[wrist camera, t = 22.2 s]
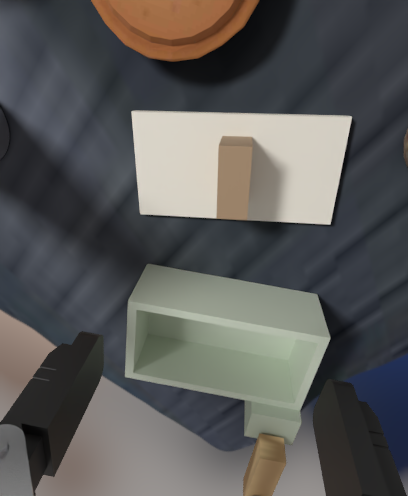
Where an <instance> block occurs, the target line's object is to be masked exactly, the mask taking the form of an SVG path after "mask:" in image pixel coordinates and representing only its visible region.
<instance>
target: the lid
mask: <svg viewBox="0 0 408 496" xmlns="http://www.w3.org/2000/svg"><path fill="white" fill-rule="evenodd" d="M131 112H132V124H133V136H134V148H135V160H136V172H137V184H138V196H139V208H140V214H145V215H163V216H181V217H200V218H216V219H233V220H255V221H273V222H291V223H309V224H328V225H330V224H331V219H332V214H333V209H334V204H335V199H336V194H337V189H338V185H339V180H340V175H341V170H342V165H343V160H344V155H345V150H346V145H347V140H348V135H349V130H350V125H351V120H352V117H351V116H339V115H299V114H258V113H218V112H178V111H137V110H134V111H131Z"/></svg>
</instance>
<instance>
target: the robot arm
mask: <svg viewBox="0 0 408 496" xmlns="http://www.w3.org/2000/svg"><path fill="white" fill-rule="evenodd" d="M8 145H9V128H8V124H7V120H6V118H5V116H4V113H3V111H2V110H1V108H0V160H1V158H2V157H3V156H4V155H5V153H6V151H7V149H8ZM103 365H104V354H103V335H99V334H94V333H88V332H83V331H82V332H80V333H79V334H78V336H77V337H76V339H75V340H74V342H73V344H72V345H68V344H63V343H62V344H61V345H60V346H58V347H57V348H56V349H54V350H53V351H52V352H50V353H49V354H48V356H47V357H46V359H45V360H44V362H43V363H42V364H41V366H40V368H39V369H38V370H37V371H36V373H35V374H34V376H33V379H31V380H30V381H29V383H28V384H27V386H26V387H25V388H24V390H23V391H22V393H21V394H20V396H19V397H18V398H17V400H16V401H15V403H14V404H13V406H12V407H11V408H10V410H9V411H8V413H7V414H6V416H5V417H4V418H3V420H2V421H1V422H0V496H36V493H35V490H36V488H37V486H38V484H39V481H40V479H41V478H42V476H43V475H48V476H53V477H54V476H55V474H56V471H57V469H58V468H59V465H60V463H61V461H62V459H63V457H64V455H65V453H66V451H67V449H68V447H69V445H70V442H71V440H72V438H73V436H74V434H75V432H76V430H77V428H78V425H79V424H80V421H81V419H82V417H83V415H84V413H85V411H86V409H87V407H88V405H89V402H90V401H91V398H92V396H93V394H94V392H95V390H96V388H97V386H98V384H99V381H100V379H101V376H102V372H103ZM313 426H314V431H315V437H316V442H317V448H318V454H319V459H320V464H321V470H322V476H323V481H324V487H325V492H326V496H407V495H406V493H405V490H404V487H403V485H402V482H401V479H400V476H399V474H398V471H397V469H396V466H395V463H394V460H393V458H392V455H391V453H390V450H388V444H387V441H386V439H385V437H384V436H383V434H384V433H383V431H382V428H381V425H380V423H379V420H378V417H377V416H376V415H375V413H374V412H373V411H372V409H371V408H370V407H369V405H368V404H367V403H366V402H361V401H358V398H357V395H356V392H355V389H354V387H353V385H352V384H351V383H348V382H342V381H337V380H332V379H328V380H327V381H326V383H325V385H324V387H323V389H322V392H321V394H320V396H319V398H318V401H317V403H316V405H315V408H314V413H313Z"/></svg>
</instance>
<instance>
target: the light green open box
mask: <svg viewBox="0 0 408 496" xmlns="http://www.w3.org/2000/svg"><path fill="white" fill-rule="evenodd" d="M330 339H331V338H330V334H329V331H328V328H327V325H326V321H325V318H324V315H323V311H322V308H321V305H320V302H319V298H318V295H317V294H313V293H308V292H302V291H297V290H291V289H285V288H280V287H274V286H269V285H263V284H258V283H252V282H247V281H241V280H236V279H230V278H225V277H219V276H214V275H208V274H202V273H197V272H191V271H186V270H180V269H175V268H169V267H164V266H158V265H153V264H147V265H146V267H145V269H144V271H143V273H142V275H141V277H140V279H139V281H138V282H137V284H136V286H135V288H134V290H133V292H132V294H131V296H130V298H129V300H128V313H127V340H126V367H125V377H128V378H133V379H138V380H143V381H149V382H154V383H159V384H164V385H169V386H174V387H180V388H185V389H190V390H195V391H200V392H205V393H210V394H216V395H221V396H226V397H231V398H236V399H241V400H245V426H244V436H248V437H253V438H258V436H259V433H260V434H265V435H270V436H275V437H280V438H284V444H289V445H292V444H293V442H294V439H295V437H296V435H297V432H298V430H299V428H300V425H301V423H302V421H301V415H300V410H301V407H302V405H303V402H304V400H305V398H306V395H307V393H308V391H309V388H310V386H311V384H312V381H313V379H314V376H315V374H316V372H317V369H318V367H319V365H320V362H321V360H322V358H323V355H324V353H325V350H326V348H327V346H328V343H329V341H330Z"/></svg>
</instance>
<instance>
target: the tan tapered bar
mask: <svg viewBox="0 0 408 496" xmlns="http://www.w3.org/2000/svg"><path fill="white" fill-rule="evenodd" d="M285 465H286V457H285V446H284V438H280V437H275V436H270V435H265V434H260V433H259V436H258V439H257V441H256V444H255V447H254V450H253V453H252V456H251V458H250V461H249V464H248V467H247V470H246V473H245V476H244V484H243V486H244V487H243V496H272V494H273V492H274V490H275V487H276V485H277V483H278V481H279V478H280V476H281V474H282V472H283V469H284V467H285Z"/></svg>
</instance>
